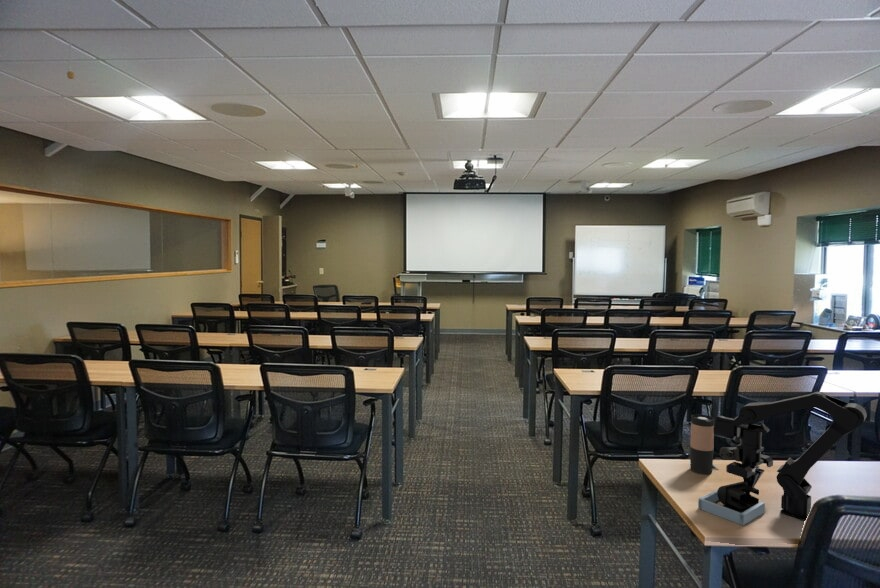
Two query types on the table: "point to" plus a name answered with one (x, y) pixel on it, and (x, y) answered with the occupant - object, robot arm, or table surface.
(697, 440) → the travel mug
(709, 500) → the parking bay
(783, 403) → the robot arm
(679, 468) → the table surface
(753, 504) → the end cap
